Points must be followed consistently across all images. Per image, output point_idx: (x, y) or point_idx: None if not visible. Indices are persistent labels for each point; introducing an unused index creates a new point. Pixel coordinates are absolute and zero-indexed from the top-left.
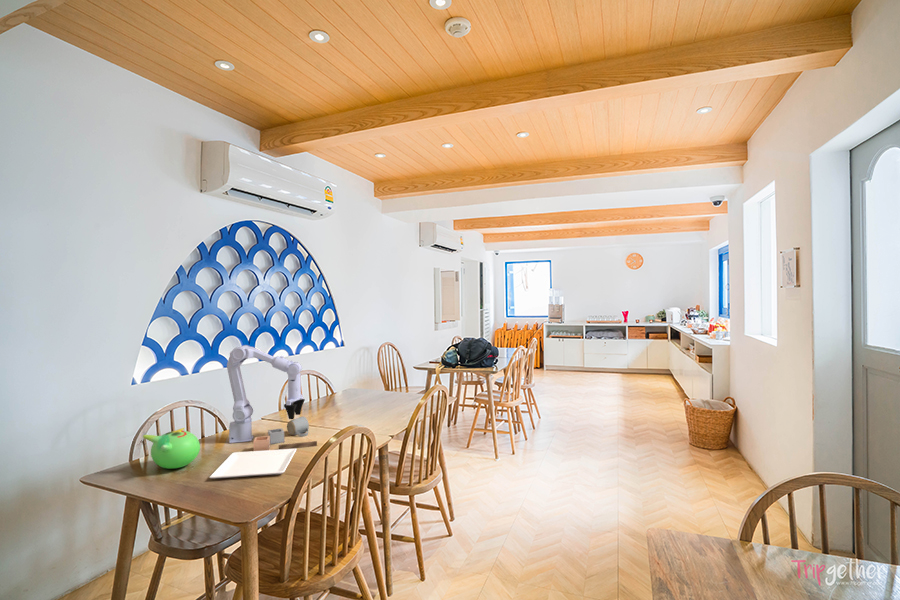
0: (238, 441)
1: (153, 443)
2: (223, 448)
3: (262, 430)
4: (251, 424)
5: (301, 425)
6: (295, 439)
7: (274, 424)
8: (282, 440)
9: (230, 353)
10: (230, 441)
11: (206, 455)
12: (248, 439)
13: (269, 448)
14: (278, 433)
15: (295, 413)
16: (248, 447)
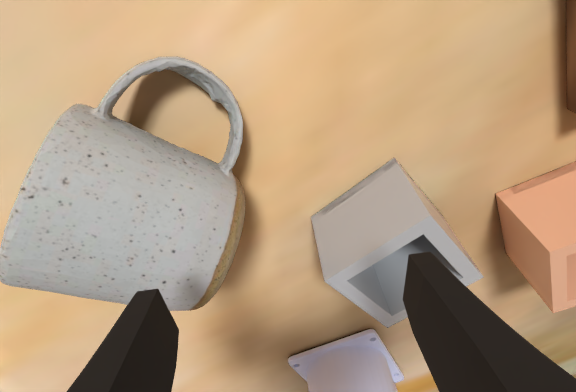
0: (393, 361)
1: None
2: None
3: (177, 372)
4: None
5: (160, 171)
6: (318, 105)
7: (50, 381)
8: (407, 175)
9: None
10: (394, 381)
11: (551, 358)
12: (363, 346)
13: (545, 176)
14: (449, 235)
15: (174, 350)
16: (476, 289)
